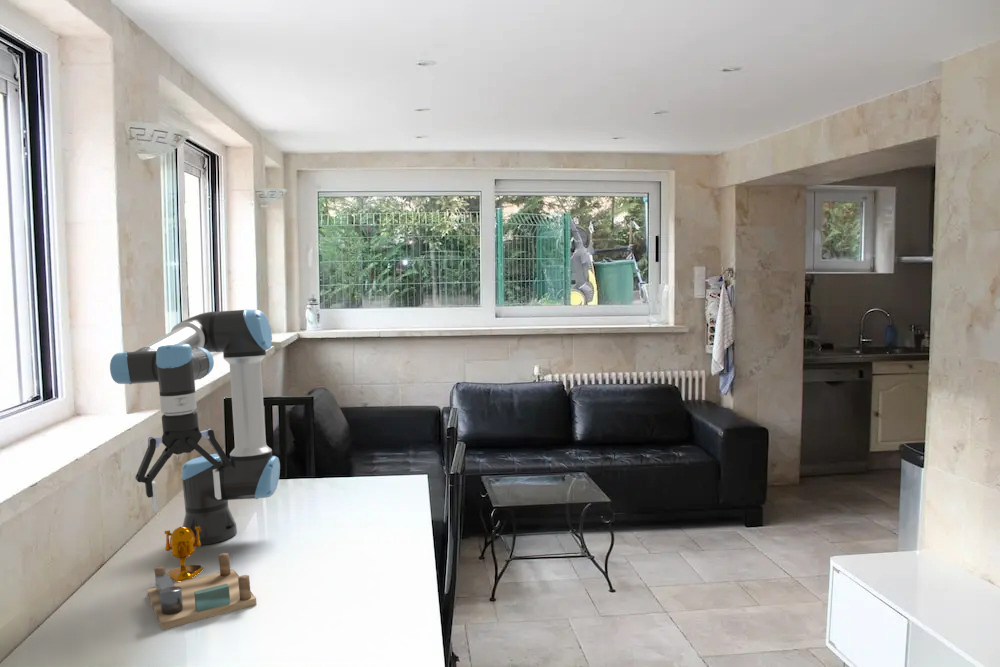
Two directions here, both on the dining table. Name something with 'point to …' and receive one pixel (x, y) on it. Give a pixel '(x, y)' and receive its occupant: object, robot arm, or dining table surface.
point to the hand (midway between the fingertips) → (187, 504)
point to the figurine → (183, 552)
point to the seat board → (190, 599)
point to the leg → (168, 594)
